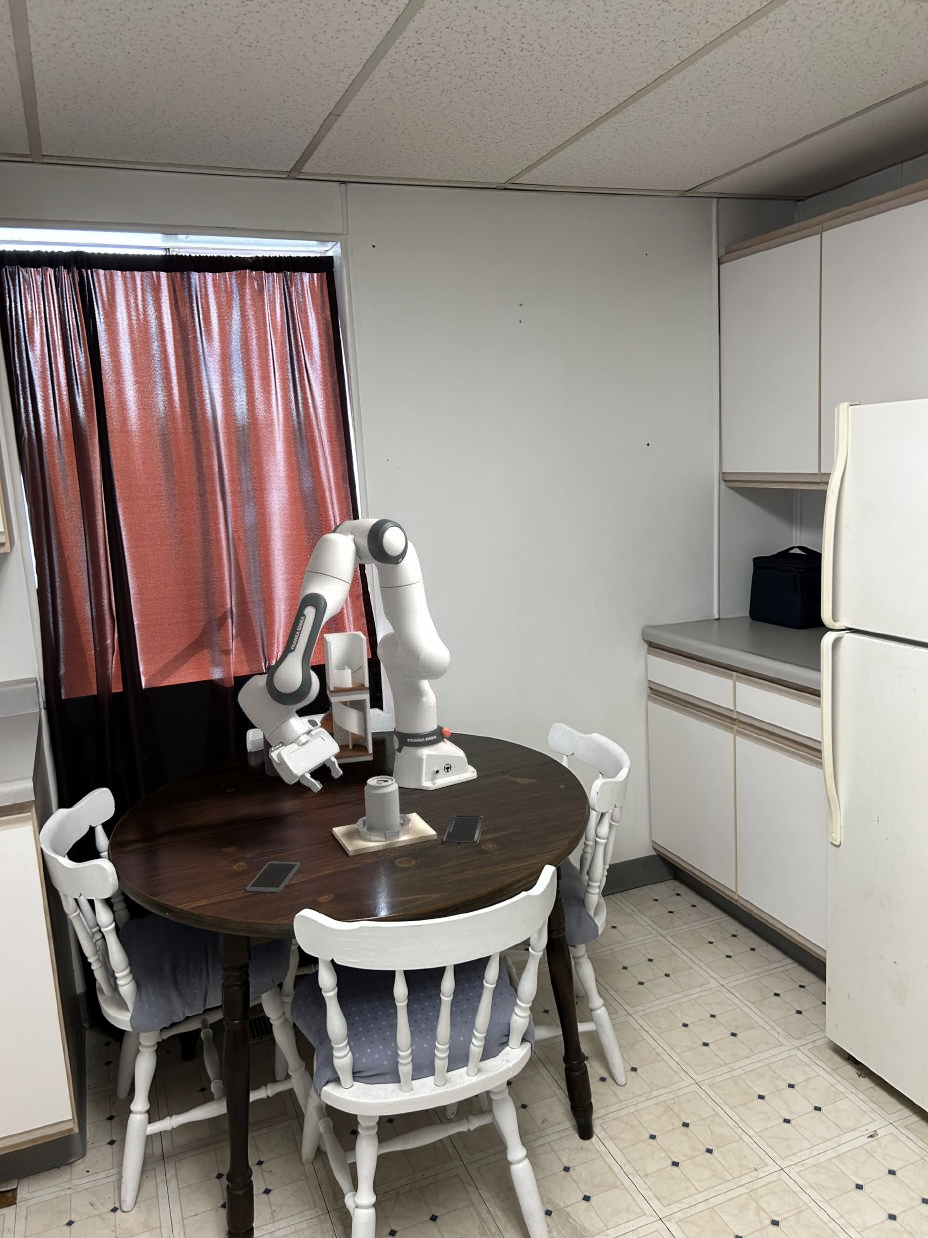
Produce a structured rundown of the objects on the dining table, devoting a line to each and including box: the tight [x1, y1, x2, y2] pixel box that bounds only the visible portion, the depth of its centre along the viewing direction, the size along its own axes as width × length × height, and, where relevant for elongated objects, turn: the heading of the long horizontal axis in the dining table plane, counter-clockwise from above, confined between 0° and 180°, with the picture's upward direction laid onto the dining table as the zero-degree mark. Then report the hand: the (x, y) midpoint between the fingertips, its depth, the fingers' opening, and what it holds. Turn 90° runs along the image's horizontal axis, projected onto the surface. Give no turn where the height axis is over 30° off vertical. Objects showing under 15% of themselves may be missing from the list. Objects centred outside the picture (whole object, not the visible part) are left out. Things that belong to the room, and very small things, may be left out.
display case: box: [323, 631, 373, 764], centre depth 269 cm, size 11×11×35 cm
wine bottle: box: [262, 664, 281, 777], centre depth 257 cm, size 7×7×30 cm
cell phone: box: [244, 861, 302, 894], centre depth 194 cm, size 7×14×1 cm, turn 171°
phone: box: [442, 815, 486, 846], centre depth 214 cm, size 8×1×15 cm
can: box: [363, 775, 401, 831], centre depth 212 cm, size 8×8×12 cm
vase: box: [319, 697, 334, 739], centre depth 284 cm, size 11×11×15 cm
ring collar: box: [355, 812, 411, 842], centre depth 213 cm, size 12×12×2 cm
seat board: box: [332, 812, 438, 856], centre depth 213 cm, size 20×14×1 cm
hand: (329, 782), depth 216 cm, fingers open, 8 cm apart
